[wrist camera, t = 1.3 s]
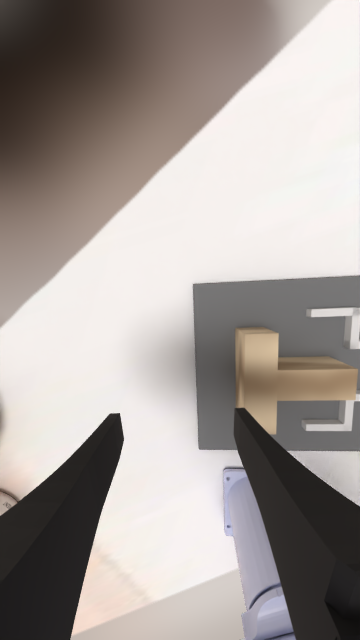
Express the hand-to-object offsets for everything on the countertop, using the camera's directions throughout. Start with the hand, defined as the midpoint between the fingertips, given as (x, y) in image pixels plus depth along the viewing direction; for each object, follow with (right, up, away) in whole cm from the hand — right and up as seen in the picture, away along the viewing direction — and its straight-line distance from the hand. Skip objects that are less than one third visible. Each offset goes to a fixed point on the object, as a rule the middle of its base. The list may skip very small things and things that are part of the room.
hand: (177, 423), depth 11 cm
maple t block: (+12, +1, +9) cm, 15 cm away
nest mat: (+14, +1, +9) cm, 17 cm away
